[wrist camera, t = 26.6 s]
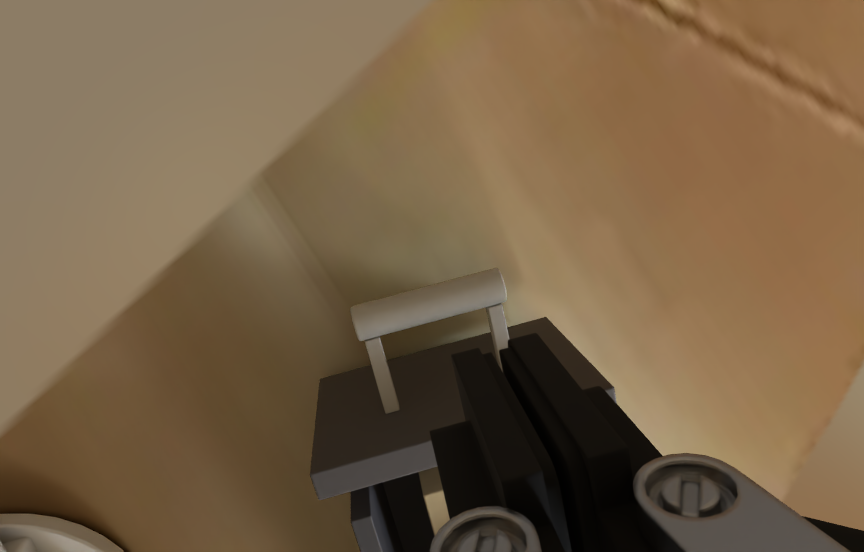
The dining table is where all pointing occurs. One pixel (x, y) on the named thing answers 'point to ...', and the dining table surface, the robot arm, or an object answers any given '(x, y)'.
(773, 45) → the dining table surface
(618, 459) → the robot arm
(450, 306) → the pull-out drawer
